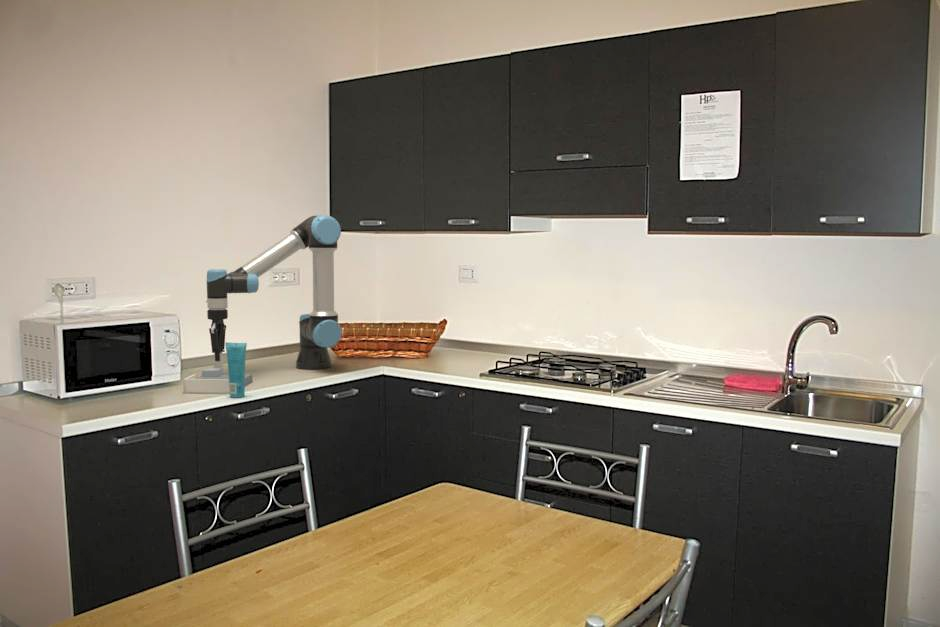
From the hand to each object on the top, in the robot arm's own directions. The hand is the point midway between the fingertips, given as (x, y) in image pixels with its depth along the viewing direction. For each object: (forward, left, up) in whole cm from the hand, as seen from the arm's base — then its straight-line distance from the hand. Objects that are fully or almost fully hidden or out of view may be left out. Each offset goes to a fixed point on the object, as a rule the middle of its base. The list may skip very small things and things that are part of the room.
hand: (218, 368), depth 318 cm
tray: (-5, +21, -4) cm, 23 cm away
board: (-5, +10, -4) cm, 12 cm away
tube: (-17, +32, -5) cm, 36 cm away
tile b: (0, +8, -1) cm, 8 cm away
